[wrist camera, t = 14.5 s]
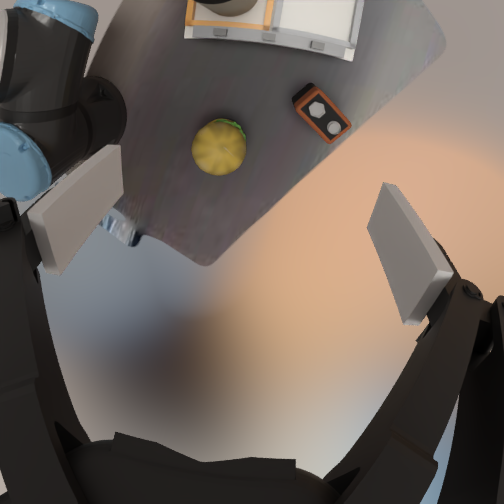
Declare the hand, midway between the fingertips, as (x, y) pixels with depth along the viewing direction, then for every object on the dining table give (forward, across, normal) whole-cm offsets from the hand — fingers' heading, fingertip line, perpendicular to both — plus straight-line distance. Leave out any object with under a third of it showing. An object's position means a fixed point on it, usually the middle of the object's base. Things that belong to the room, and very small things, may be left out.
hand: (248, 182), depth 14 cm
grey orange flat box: (+35, 0, +14) cm, 38 cm away
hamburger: (+35, -5, -8) cm, 36 cm away
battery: (+35, +8, -1) cm, 36 cm away
